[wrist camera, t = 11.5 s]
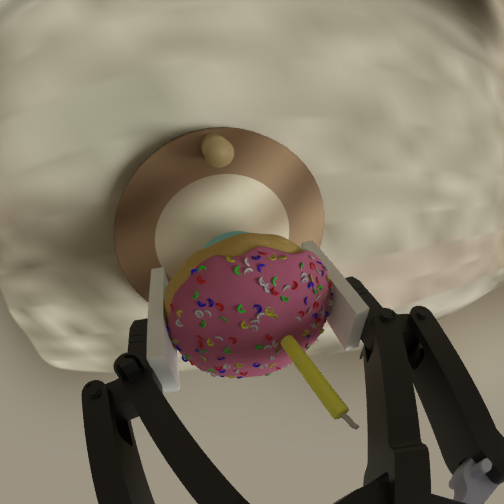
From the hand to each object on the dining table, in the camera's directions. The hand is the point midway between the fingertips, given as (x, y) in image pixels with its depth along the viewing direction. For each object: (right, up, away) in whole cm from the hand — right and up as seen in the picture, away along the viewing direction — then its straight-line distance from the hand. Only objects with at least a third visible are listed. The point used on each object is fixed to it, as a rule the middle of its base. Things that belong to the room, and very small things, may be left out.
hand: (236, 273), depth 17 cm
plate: (-1, +3, +5) cm, 6 cm away
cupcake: (0, 0, +1) cm, 1 cm away
